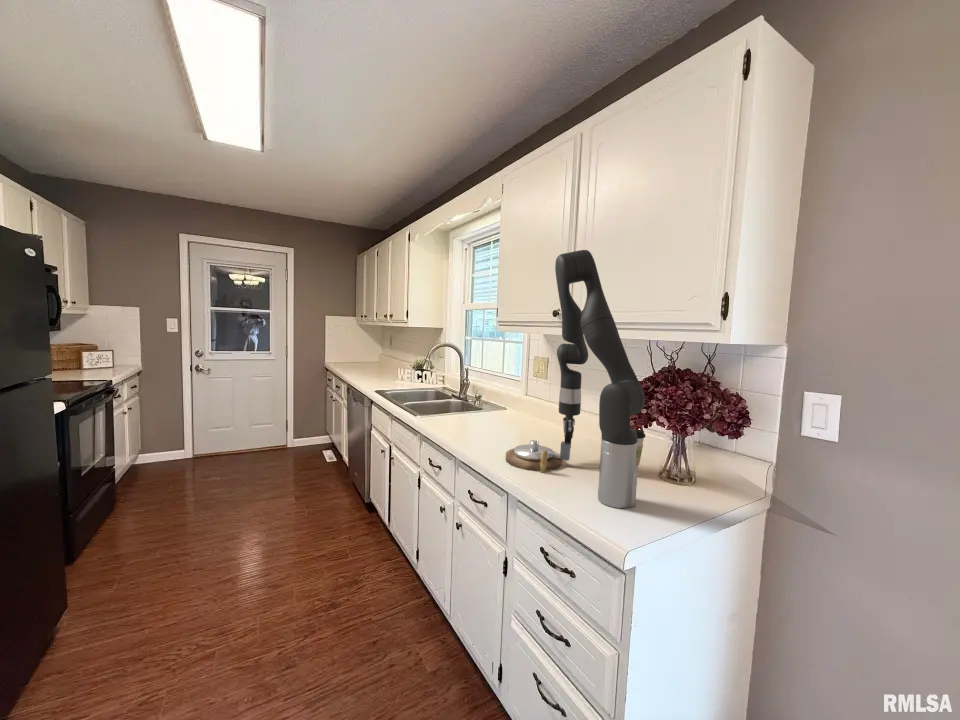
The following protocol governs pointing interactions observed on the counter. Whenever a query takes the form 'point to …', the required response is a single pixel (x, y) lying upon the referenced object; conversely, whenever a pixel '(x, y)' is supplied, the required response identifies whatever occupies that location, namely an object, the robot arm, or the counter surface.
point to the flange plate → (535, 449)
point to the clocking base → (533, 462)
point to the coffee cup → (639, 446)
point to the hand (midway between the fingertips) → (567, 447)
